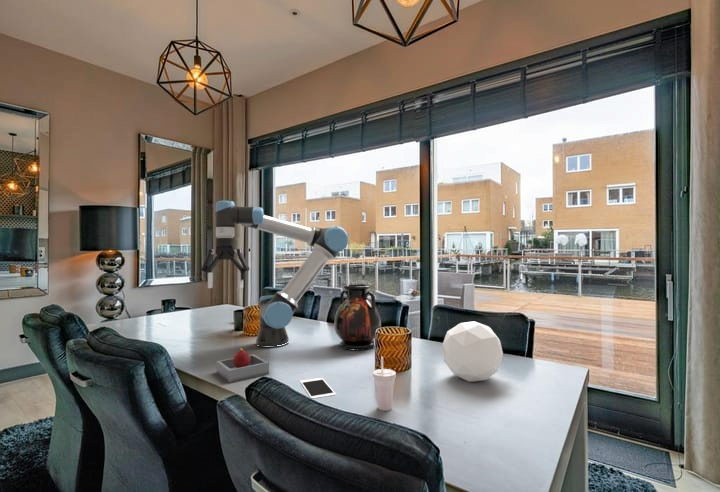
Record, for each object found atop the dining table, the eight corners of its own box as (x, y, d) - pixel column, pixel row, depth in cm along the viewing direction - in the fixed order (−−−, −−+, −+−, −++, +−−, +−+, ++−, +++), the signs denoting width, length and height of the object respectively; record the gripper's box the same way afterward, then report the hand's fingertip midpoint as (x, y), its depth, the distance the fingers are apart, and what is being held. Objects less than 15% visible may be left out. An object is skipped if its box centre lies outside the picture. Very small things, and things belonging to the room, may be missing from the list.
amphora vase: (324, 348, 164) (323, 286, 164) (352, 338, 181) (351, 282, 182) (364, 355, 151) (363, 288, 152) (389, 344, 169) (389, 284, 170)
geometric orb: (476, 405, 116) (464, 366, 107) (438, 367, 133) (424, 330, 123) (519, 371, 121) (512, 330, 111) (477, 338, 138) (467, 300, 128)
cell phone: (322, 379, 124) (322, 377, 124) (336, 396, 109) (336, 394, 109) (299, 382, 122) (299, 380, 122) (311, 400, 107) (311, 398, 107)
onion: (250, 367, 134) (250, 345, 135) (249, 372, 129) (249, 349, 129) (234, 369, 133) (233, 347, 133) (232, 374, 127) (232, 351, 128)
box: (253, 364, 141) (253, 354, 141) (268, 373, 130) (268, 362, 130) (216, 372, 132) (216, 361, 132) (229, 382, 121) (229, 370, 121)
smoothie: (372, 403, 103) (371, 353, 103) (394, 402, 103) (393, 353, 104) (374, 413, 96) (374, 360, 97) (398, 412, 97) (397, 359, 97)
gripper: (192, 237, 151) (192, 288, 151) (249, 236, 148) (250, 288, 148) (202, 238, 159) (202, 287, 158) (257, 237, 156) (257, 287, 155)
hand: (225, 288), depth 153 cm, fingers open, 13 cm apart
